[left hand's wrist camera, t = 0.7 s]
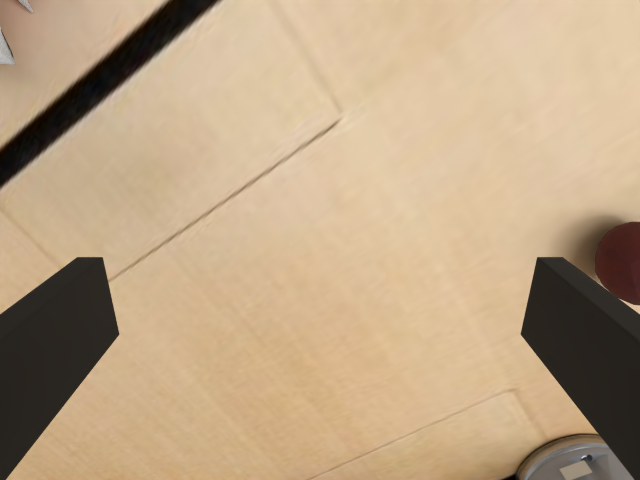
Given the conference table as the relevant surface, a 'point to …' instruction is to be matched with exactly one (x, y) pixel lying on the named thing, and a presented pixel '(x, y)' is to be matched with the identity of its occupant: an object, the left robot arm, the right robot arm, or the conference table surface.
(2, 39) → the fish
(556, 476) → the right robot arm
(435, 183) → the conference table surface
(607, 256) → the dark red ball
